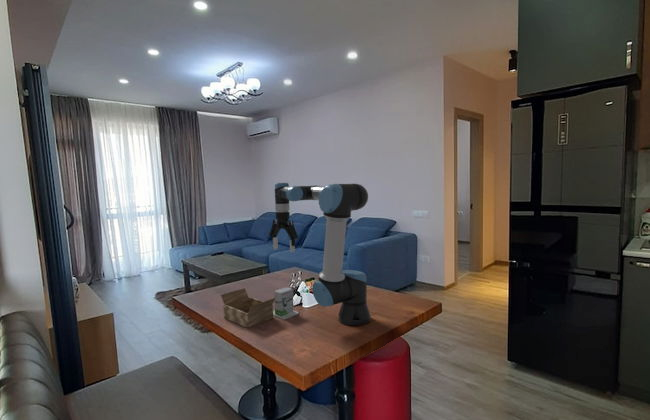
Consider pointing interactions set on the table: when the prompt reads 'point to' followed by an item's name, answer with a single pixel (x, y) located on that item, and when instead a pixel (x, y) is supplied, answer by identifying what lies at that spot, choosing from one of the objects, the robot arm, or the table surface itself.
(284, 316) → the felt mat
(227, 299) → the carton
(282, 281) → the table surface
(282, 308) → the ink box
